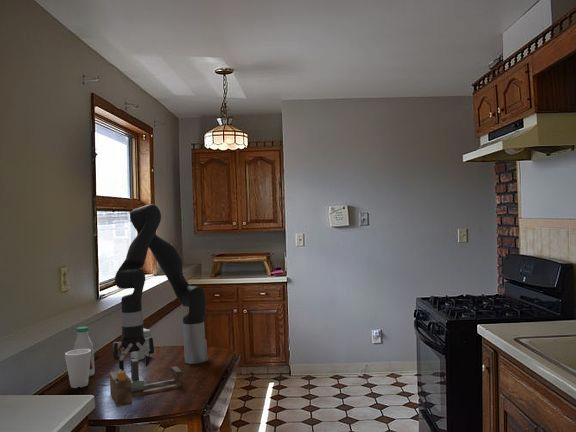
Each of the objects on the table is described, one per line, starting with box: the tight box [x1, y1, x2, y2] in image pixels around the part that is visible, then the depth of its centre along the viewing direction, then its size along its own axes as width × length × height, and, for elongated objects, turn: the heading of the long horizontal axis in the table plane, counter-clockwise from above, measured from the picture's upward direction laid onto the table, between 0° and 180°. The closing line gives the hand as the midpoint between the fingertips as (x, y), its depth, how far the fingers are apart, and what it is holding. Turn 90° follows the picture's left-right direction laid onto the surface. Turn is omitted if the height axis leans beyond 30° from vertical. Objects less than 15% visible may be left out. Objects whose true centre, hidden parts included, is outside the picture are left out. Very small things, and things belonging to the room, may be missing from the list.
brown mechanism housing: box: [109, 365, 183, 408], centre depth 183 cm, size 24×15×8 cm, turn 117°
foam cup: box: [64, 349, 91, 389], centre depth 197 cm, size 10×9×13 cm
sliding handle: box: [129, 358, 145, 392], centre depth 184 cm, size 5×7×11 cm
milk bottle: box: [73, 326, 95, 377], centre depth 210 cm, size 8×8×20 cm
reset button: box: [117, 370, 127, 382], centre depth 175 cm, size 2×2×4 cm
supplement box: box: [130, 327, 153, 361], centre depth 235 cm, size 7×7×13 cm
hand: (134, 368), depth 184 cm, fingers open, 8 cm apart
